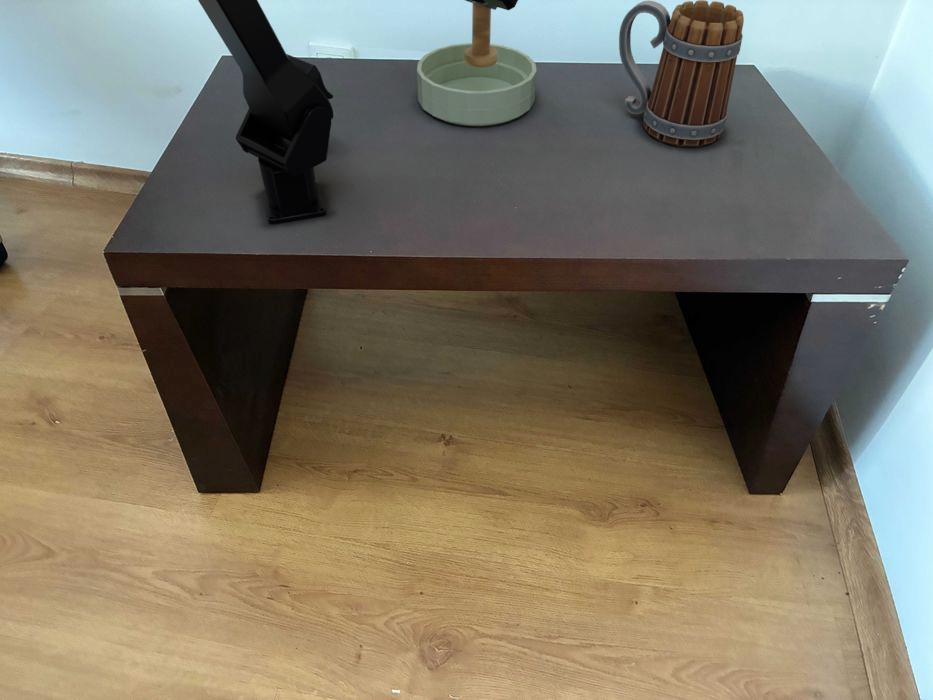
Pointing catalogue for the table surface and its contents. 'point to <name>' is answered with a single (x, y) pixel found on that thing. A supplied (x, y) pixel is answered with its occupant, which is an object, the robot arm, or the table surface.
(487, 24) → the wooden pestle
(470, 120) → the bowl
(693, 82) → the mug
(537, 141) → the table surface
